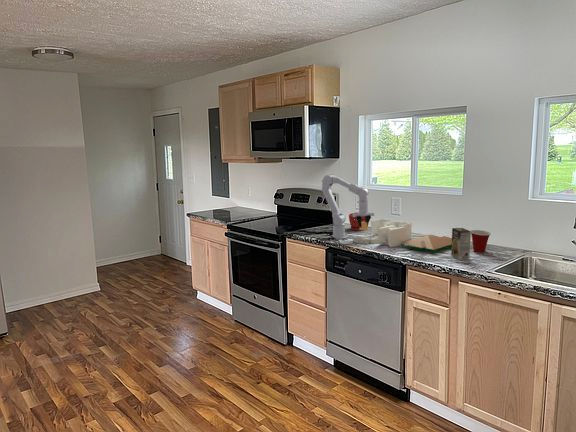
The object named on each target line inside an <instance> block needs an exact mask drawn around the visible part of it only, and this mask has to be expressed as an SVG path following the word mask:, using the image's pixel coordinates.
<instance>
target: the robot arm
mask: <svg viewBox="0 0 576 432" xmlns="http://www.w3.org/2000/svg"><path fill="white" fill-rule="evenodd" d="M321 182H322V184H321V192H322V194H323V196H324V198H325V200H326V202H327V204H328V207H329V210H330V211H331V214H332V215H331V216H332V222H333V227H332V235H331V237H332V238H334V239H335V240H338V239H339V240H340V239H342V240H343V239H347V236H346V233H345V232H346V229H345V225H346V224H345V222H346V220H347V218H346V216H345V215H344V214H343V212H342V211H341V210H340V209H339V206H338V204H337V202H336V199H335V197H334V195H333V192H332V190H331V189H332V186H333V184H338V185H340V186H342V187H345V188H347V190H348V191H349V192H351V193H352V194H354V195H356V196H358V212H355V213H356V214H353V217H356V219H357V221H358V224H359V227H361V221H362V218H361V215H362V216H365V221H366V222H367V228H368V226H369V223H370V222H371V219H372V217H373V216H375V212H369V206H368V205H369V203H368V202H369V201H368V200H369V197H368V195H369V190H368V189H367V188H365V187H363V186H359V185H358V184H357V183H356V182H355V183H349V182H348V181H347V180H344V179H342V178H341V177H339V176H337V175H334V174H333V173H332V174H331V173H330V174H328V175H324V176H323V178H322V180H321Z"/></svg>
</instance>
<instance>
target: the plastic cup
mask: <svg viewBox="0 0 576 432" xmlns="http://www.w3.org/2000/svg"><path fill="white" fill-rule="evenodd" d="M470 231H471V240H472V247H473V252H474V253H476V252H478V253H477V254H482V253H486V249H487V245H488V241H489V238H490V235H491V232H489V231H486V230H480V229H472V230H470Z"/></svg>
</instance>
